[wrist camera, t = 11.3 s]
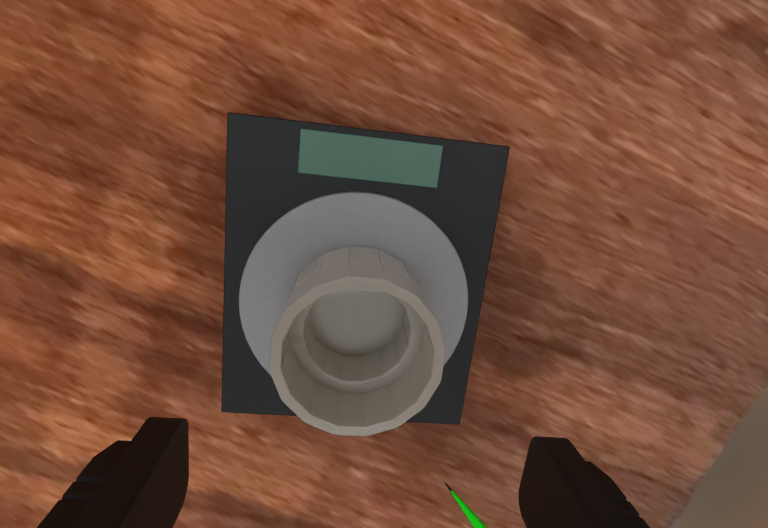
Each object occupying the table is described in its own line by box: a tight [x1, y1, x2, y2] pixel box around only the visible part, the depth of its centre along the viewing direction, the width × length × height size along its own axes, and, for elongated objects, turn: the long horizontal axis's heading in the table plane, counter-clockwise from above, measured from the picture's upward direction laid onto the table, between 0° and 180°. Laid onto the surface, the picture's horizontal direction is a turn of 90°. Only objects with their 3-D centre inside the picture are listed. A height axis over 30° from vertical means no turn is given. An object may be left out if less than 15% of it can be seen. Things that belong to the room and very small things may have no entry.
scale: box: [222, 112, 510, 424], centre depth 21 cm, size 14×12×3 cm
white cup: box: [269, 246, 446, 436], centre depth 17 cm, size 6×6×5 cm
